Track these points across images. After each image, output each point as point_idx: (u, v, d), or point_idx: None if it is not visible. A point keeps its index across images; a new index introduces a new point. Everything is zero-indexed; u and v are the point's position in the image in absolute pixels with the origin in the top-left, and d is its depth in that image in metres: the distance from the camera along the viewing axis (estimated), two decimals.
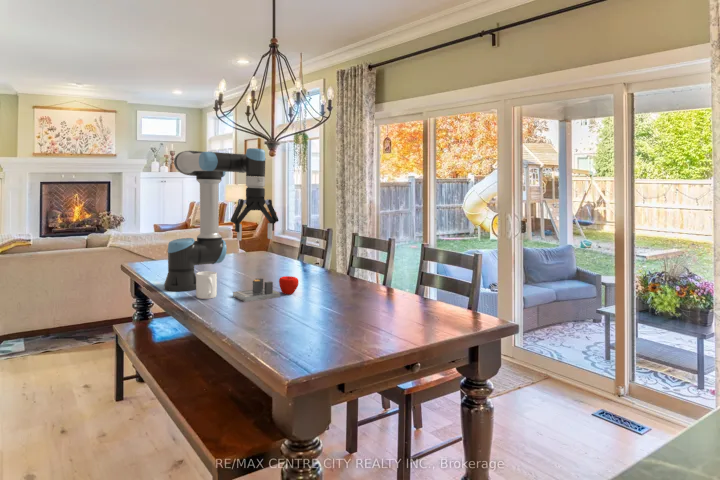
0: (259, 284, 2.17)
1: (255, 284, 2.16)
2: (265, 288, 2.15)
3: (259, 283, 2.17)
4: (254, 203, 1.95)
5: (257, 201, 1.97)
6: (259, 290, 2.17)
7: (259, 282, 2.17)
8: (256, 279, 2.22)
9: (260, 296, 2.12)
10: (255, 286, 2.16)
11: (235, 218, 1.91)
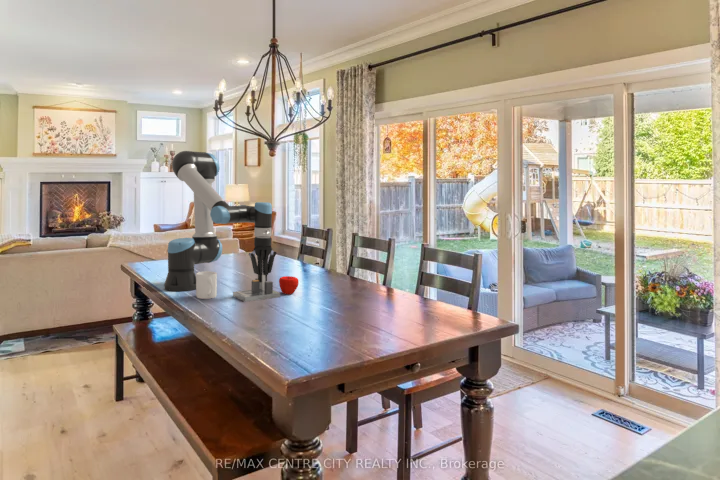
0: (258, 284, 2.17)
1: (254, 284, 2.16)
2: (265, 288, 2.15)
3: (258, 283, 2.17)
4: (262, 252, 2.15)
5: (266, 245, 2.17)
6: (258, 290, 2.17)
7: (258, 282, 2.17)
8: (256, 279, 2.22)
9: (260, 296, 2.12)
10: (254, 286, 2.16)
11: (257, 270, 2.16)
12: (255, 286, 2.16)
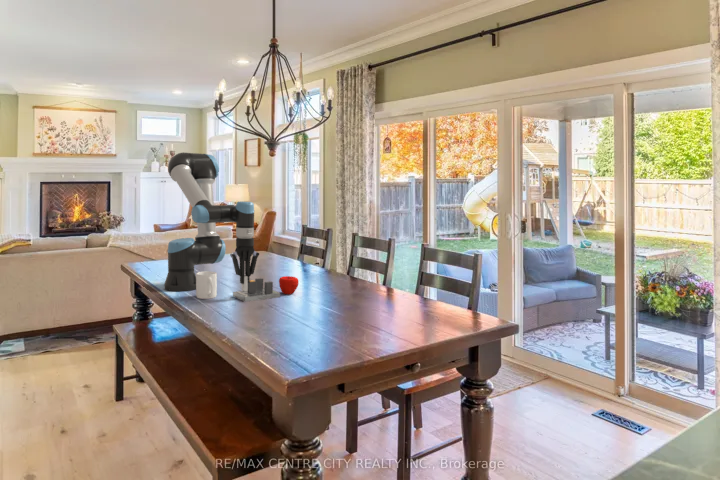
0: (254, 285, 2.16)
1: (250, 285, 2.14)
2: (265, 288, 2.15)
3: (254, 284, 2.15)
4: (244, 252, 2.10)
5: (248, 246, 2.12)
6: (254, 291, 2.16)
7: (254, 283, 2.15)
8: (256, 279, 2.22)
9: (260, 296, 2.12)
10: (250, 287, 2.14)
11: (238, 271, 2.10)
12: (251, 286, 2.15)
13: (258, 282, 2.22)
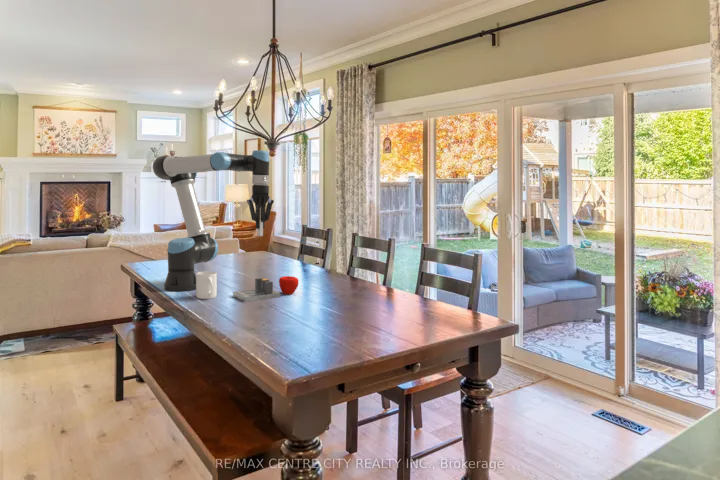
0: None
1: (263, 283, 2.18)
2: (265, 288, 2.15)
3: None
4: (259, 198, 2.22)
5: (263, 193, 2.23)
6: None
7: (267, 281, 2.20)
8: (256, 279, 2.22)
9: (260, 296, 2.12)
10: (263, 285, 2.19)
11: (254, 216, 2.22)
12: (264, 285, 2.19)
13: (258, 282, 2.22)
